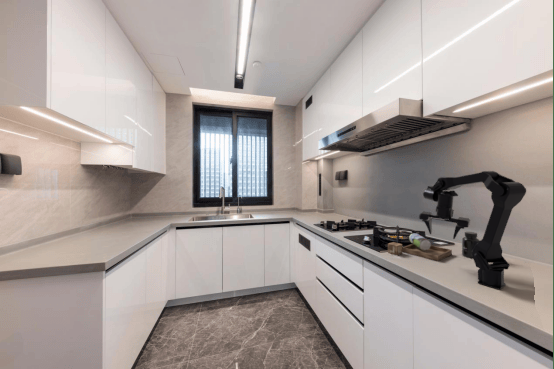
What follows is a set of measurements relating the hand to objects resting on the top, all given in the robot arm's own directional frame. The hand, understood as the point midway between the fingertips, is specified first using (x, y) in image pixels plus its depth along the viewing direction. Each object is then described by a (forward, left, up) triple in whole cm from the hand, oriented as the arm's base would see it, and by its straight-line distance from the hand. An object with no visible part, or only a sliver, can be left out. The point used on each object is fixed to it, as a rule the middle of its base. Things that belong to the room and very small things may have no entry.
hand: (442, 236), depth 111 cm
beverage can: (+10, -5, -9) cm, 14 cm away
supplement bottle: (-5, -19, -13) cm, 24 cm away
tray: (+10, -7, -12) cm, 18 cm away
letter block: (+20, +5, -13) cm, 24 cm away
